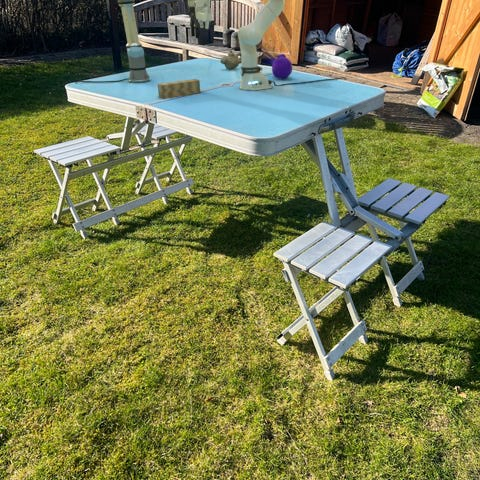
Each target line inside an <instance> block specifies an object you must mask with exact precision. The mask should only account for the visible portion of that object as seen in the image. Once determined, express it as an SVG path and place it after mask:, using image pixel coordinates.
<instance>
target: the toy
mask: <svg viewBox="0 0 480 480" xmlns="http://www.w3.org/2000/svg"><path fill="white" fill-rule="evenodd" d="M260 60H261V61H262V62H264V63H266V64H268V65H270V66H271V72H272V75H273V76H274V77H275V78H276V79H279V80H285V79H287V78H289V77H290V75H291V74H292V72H293V63H292V62H291V61H290V59H289V58H287V57H286V55H285V54H284V53H280V54H278V55H277V56H276V58H268V57H266V58H265V57H263V58H262V57H261V58H260Z"/></svg>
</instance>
